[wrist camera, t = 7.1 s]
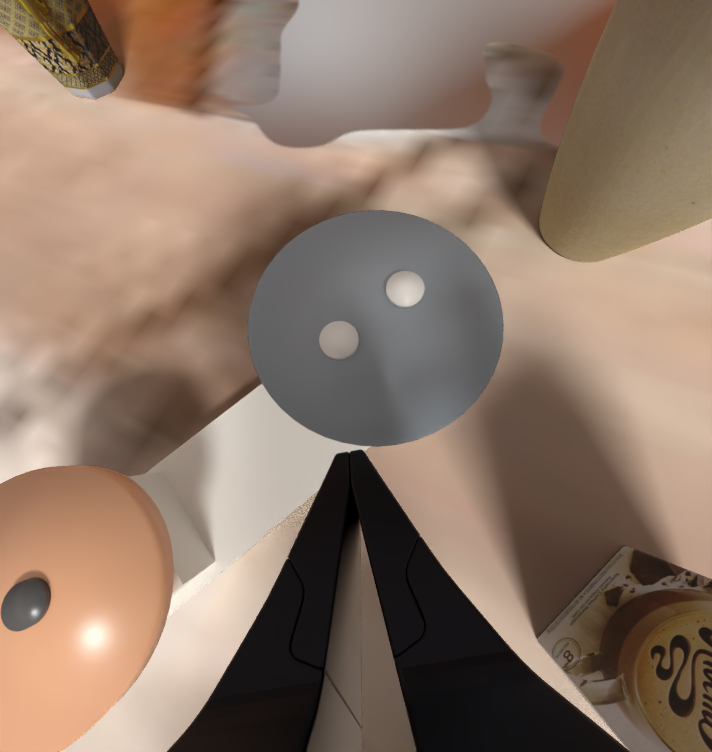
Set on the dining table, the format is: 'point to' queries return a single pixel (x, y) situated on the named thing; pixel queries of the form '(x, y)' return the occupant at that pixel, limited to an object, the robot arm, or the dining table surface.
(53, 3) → the ceramic cup
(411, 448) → the dining table surface
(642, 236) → the plant pot
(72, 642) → the brown round domed piece
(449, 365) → the two dot key
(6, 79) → the dining table surface
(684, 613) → the coffee box
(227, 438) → the key console
